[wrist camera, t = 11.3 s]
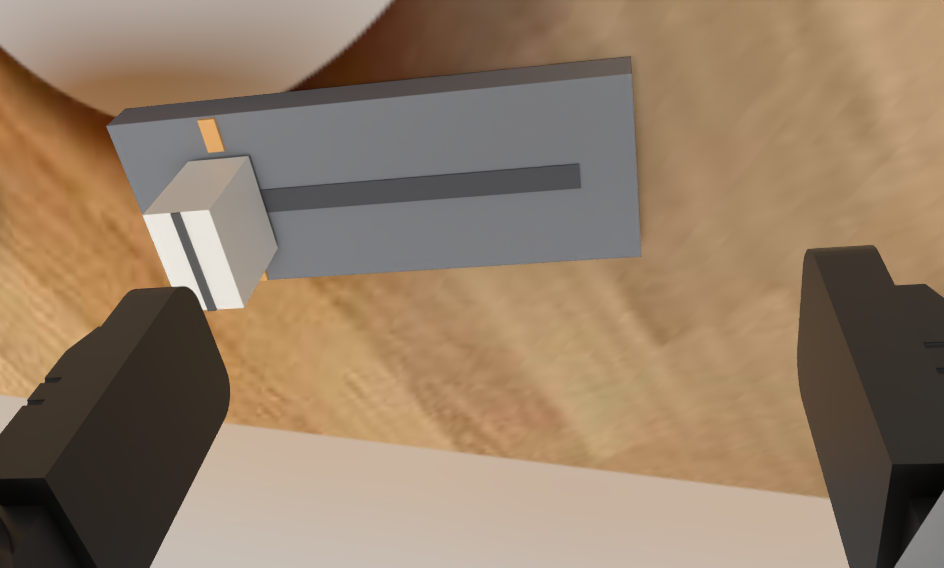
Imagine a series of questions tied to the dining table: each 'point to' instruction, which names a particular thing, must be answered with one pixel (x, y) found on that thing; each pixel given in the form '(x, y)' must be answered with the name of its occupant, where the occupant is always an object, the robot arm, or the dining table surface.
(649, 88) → the dining table surface
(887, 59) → the dining table surface
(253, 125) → the slider board
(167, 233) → the block
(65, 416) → the robot arm
